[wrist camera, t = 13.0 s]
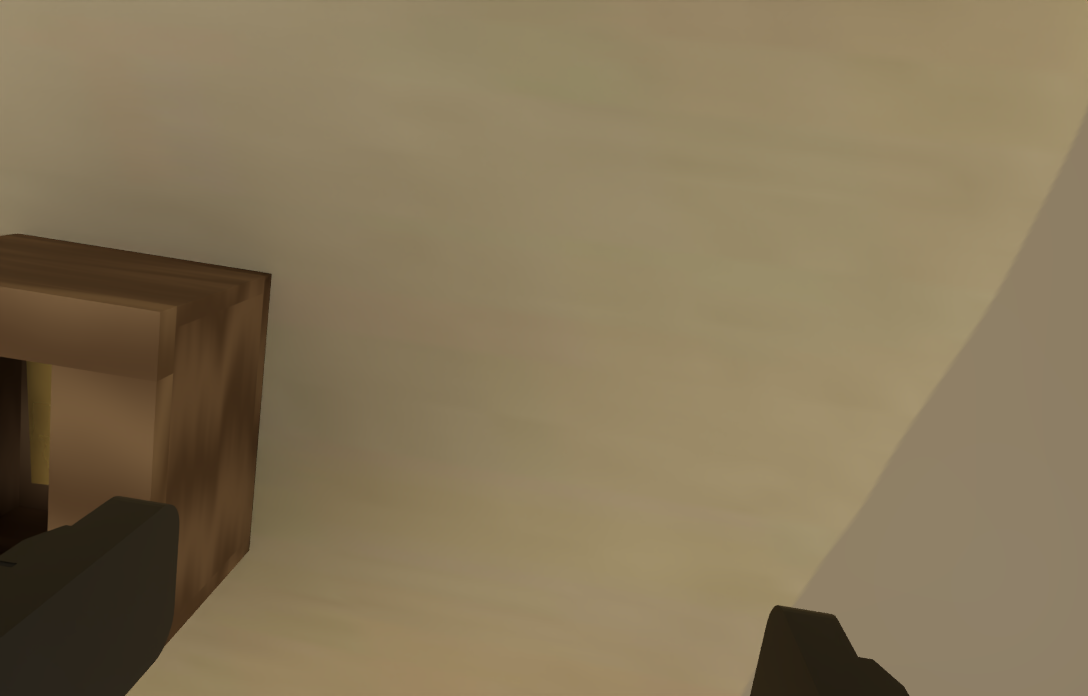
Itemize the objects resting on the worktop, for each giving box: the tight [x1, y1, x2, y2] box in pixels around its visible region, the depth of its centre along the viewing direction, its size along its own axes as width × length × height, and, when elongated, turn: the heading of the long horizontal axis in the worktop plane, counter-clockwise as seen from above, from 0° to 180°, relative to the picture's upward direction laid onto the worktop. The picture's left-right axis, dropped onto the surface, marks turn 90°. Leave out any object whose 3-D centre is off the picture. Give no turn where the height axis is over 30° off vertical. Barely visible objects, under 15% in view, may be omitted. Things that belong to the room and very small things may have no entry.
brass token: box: [26, 361, 52, 485], centre depth 37 cm, size 6×2×6 cm, turn 175°
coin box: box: [0, 234, 271, 646], centre depth 36 cm, size 14×12×10 cm
